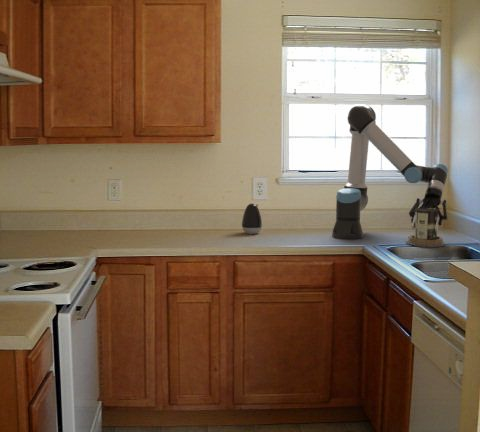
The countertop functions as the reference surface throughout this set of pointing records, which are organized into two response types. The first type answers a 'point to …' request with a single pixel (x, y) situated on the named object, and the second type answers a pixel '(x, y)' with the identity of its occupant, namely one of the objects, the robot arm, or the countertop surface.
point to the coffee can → (425, 223)
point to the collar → (425, 242)
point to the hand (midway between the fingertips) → (424, 229)
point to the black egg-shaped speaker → (252, 219)
